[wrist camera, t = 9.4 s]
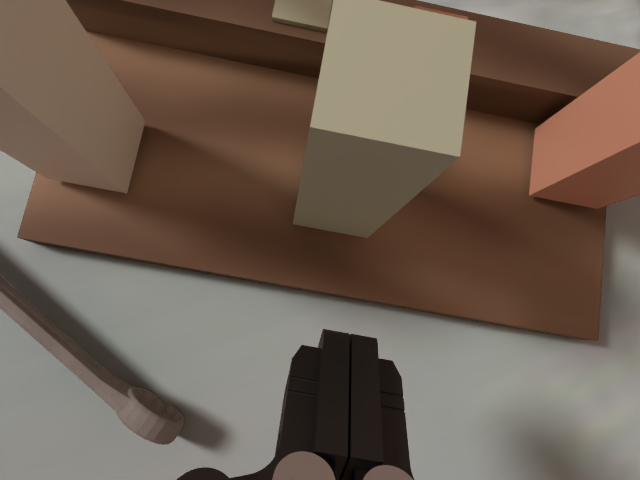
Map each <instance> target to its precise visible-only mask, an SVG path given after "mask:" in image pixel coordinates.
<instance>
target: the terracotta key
mask: <svg viewBox="0 0 640 480" xmlns="http://www.w3.org/2000/svg"><path fill="white" fill-rule="evenodd" d="M639 194H640V52H639V53H638V54H637V55H635V56H634V57H632V58H631V59H630V60H628V61H627V62H626V63H624V64H623V65H621V66H620V67H619V68H617V69H616V70H615V71H613V72H612V73H611V74H609V75H608V76H606V77H605V78H604V79H602V80H601V81H600V82H598V83H597V84H596V85H594V86H593V87H591V88H590V89H589V90H587V91H586V92H585V93H583V94H582V95H580V96H579V97H578V98H576V99H575V100H574V101H572V102H571V103H570V104H568V105H567V106H565V107H564V108H563V109H561V110H560V111H559V112H557V113H556V114H554V115H553V116H552V117H550V118H549V119H548V120H546V121H545V122H544V123H542V124H541V125H539V126H538V127H537V128H535V135H534V146H533V157H532V168H531V179H530V190H529V196H534V197H539V198H544V199H549V200H554V201H559V202H564V203H569V204H574V205H580V206H585V207H590V208H595V209H598V208H601V207H604V206H607V205H610V204H613V203H616V202H619V201H622V200H625V199H628V198H631V197H634V196H637V195H639Z"/></svg>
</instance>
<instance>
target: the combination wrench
mask: <svg viewBox="0 0 640 480" xmlns="http://www.w3.org/2000/svg"><path fill="white" fill-rule="evenodd" d="M0 308H1V309H2V310H3V311H4V312H5V313H6V314H7V315H9V316H10V317H11V318H12V319H13V320H14V321H15V322H16V323H18V324H19V325H20V326H21V327H22V328H23V329H24V330H25V331H27V332H28V333H29V334H30V335H31V336H32V337H33V338H34V339H36V340H37V341H38V342H39V343H40V344H41V345H42V346H43V347H45V348H46V349H47V350H48V351H49V352H50V353H51V354H52V355H54V356H55V357H56V358H57V359H58V360H59V361H60V362H61V363H63V364H64V365H65V366H66V367H67V368H68V369H69V370H70V371H72V372H73V373H74V374H75V375H76V376H77V377H78V378H79V379H81V380H82V381H83V382H84V383H85V384H86V385H87V386H88V387H90V388H91V389H92V390H93V391H94V392H95V393H96V394H97V395H98V396H99V397H101V398H102V399H103V400H104V401H105V402H106V403H107V404H108V405H109V406H111V407H112V408H113V409H114V410H115V411H116V413H117V415H118V417H119V419H120V420H121V421H122V422H123V424H125V425H126V426H127V427H128V428H129V429H130V430H132V431H133V432H134V433H136V434H137V435H139V436H141V437H142V438H144V439H146V440H149V441H151V442H154V443H157V444H169V443H171V442H172V441H174V439H175V438H176V437H177V435H178V434H179V432H180V431H181V429H182V428H183V426H184V418H183V416H182V414H181V413H180V412H179V411H178V410H177V409H176V408H175V407H173V406H170V405H168V406H167V407H166V406H165V404H164V403H163V402H162V401H161V400H160V399H159V398H158V397H156V394H155V393H153V392H151V391H149V390H147V389H144V388H140V387H133V386H131V385H129V384H127V383H125V382H123V381H122V380H120V379H118V378H117V377H115V376H114V375H112V374H111V373H110V372H109V371H108V370H106V369H105V368H104V367H103V366H102V365H101V364H100V363H98V362H97V361H96V360H95V359H94V358H93V357H92V356H91V355H90V354H89V353H88V352H86V351H85V350H84V349H83V348H82V347H81V346H80V345H78V344H77V343H76V342H75V341H74V340H73V339H72V338H70V337H69V336H68V335H67V334H66V333H65V332H64V331H62V330H61V329H60V328H59V327H58V326H57V325H56V324H54V323H53V322H52V321H51V320H50V319H49V318H48V317H47V316H45V315H44V314H43V313H42V312H41V311H40V310H39V309H37V308H36V307H35V306H34V305H33V304H32V303H31V302H29V301H28V300H27V299H26V298H25V297H24V296H23V295H21V294H20V293H19V292H18V291H17V290H16V289H15V288H13V287H12V286H11V285H10V284H9V283H8V282H7V281H6V280H4V279H3V278H2V277H1V276H0ZM163 410H164V411H163Z"/></svg>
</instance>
